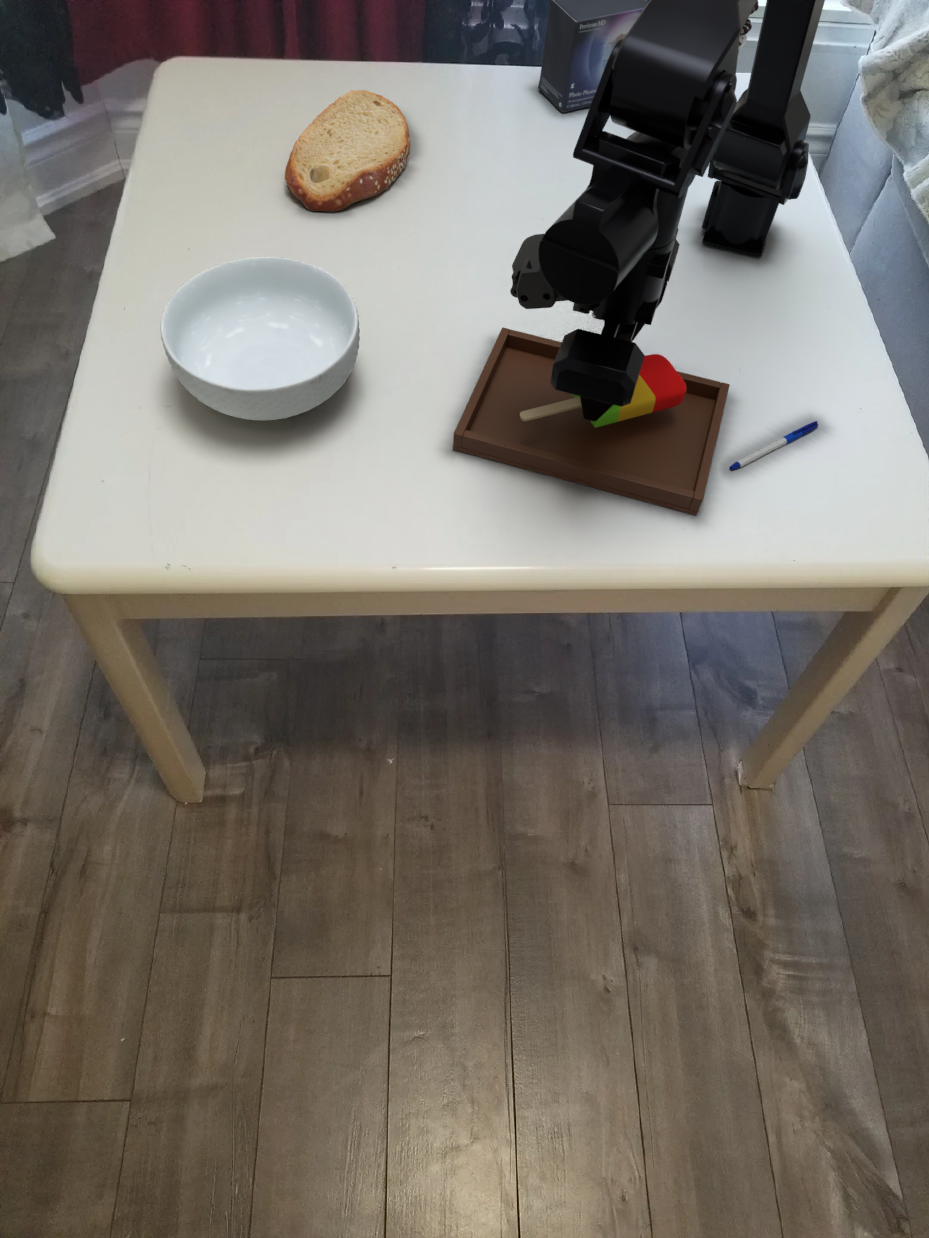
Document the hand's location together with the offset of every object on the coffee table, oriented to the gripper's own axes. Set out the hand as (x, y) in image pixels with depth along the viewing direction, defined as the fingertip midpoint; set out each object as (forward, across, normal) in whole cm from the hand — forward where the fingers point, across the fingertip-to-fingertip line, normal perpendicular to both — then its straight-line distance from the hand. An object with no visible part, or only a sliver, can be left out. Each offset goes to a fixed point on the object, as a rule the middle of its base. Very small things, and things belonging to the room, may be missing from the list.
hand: (600, 389), depth 79 cm
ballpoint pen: (+4, -3, +16) cm, 17 cm away
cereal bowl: (+4, +5, -29) cm, 30 cm away
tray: (+4, 0, 0) cm, 4 cm away
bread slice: (+4, -31, -36) cm, 48 cm away
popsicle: (+2, 0, 0) cm, 2 cm away
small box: (+4, -55, -14) cm, 57 cm away
